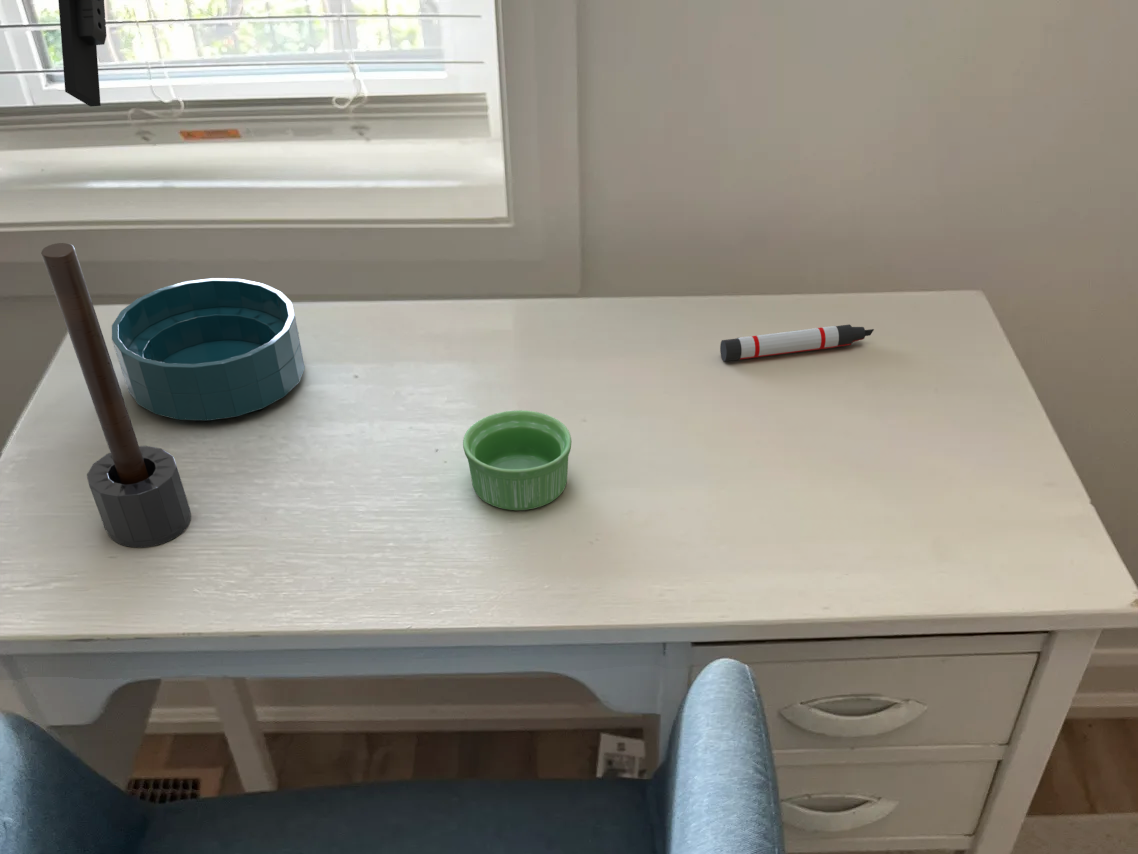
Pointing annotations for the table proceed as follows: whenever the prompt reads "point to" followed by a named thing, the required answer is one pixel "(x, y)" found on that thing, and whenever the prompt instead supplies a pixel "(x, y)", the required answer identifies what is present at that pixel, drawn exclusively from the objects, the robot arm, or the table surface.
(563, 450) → the ramekin
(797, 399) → the table surface
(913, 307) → the table surface
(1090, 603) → the table surface
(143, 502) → the crock
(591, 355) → the table surface
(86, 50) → the robot arm
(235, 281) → the bowl
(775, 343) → the marker
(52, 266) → the stick
